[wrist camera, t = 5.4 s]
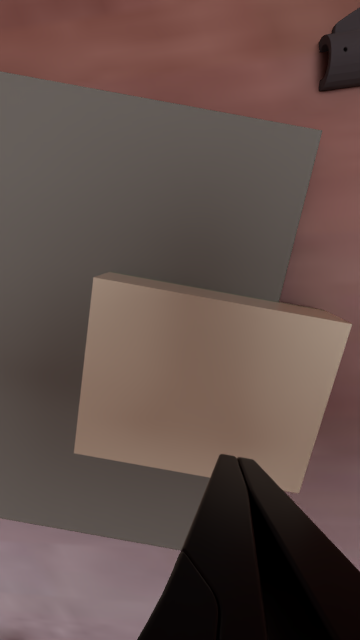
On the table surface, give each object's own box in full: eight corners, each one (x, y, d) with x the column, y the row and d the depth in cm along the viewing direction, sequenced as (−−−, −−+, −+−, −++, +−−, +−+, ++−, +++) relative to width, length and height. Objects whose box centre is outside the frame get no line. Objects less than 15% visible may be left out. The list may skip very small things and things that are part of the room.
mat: (316, 135, 12) (322, 130, 12) (213, 545, 17) (214, 556, 16) (-42, 70, 12) (-54, 61, 12) (-46, 499, 17) (-55, 508, 16)
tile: (352, 324, 11) (93, 277, 11) (299, 493, 13) (73, 453, 13) (324, 310, 13) (111, 271, 13) (282, 454, 15) (92, 420, 15)
